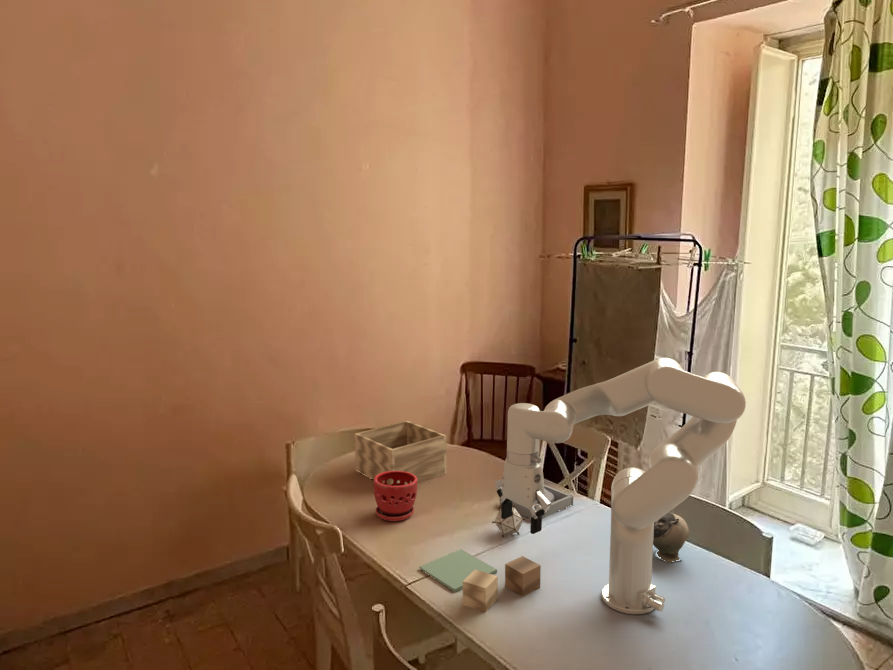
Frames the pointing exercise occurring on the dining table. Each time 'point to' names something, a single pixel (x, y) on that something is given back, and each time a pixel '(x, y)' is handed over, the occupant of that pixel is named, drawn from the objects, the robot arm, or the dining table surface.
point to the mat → (455, 568)
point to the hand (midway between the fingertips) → (520, 524)
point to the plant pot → (395, 495)
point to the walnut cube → (522, 576)
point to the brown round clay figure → (670, 536)
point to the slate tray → (561, 503)
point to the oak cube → (480, 590)
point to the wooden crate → (401, 451)
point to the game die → (509, 522)
